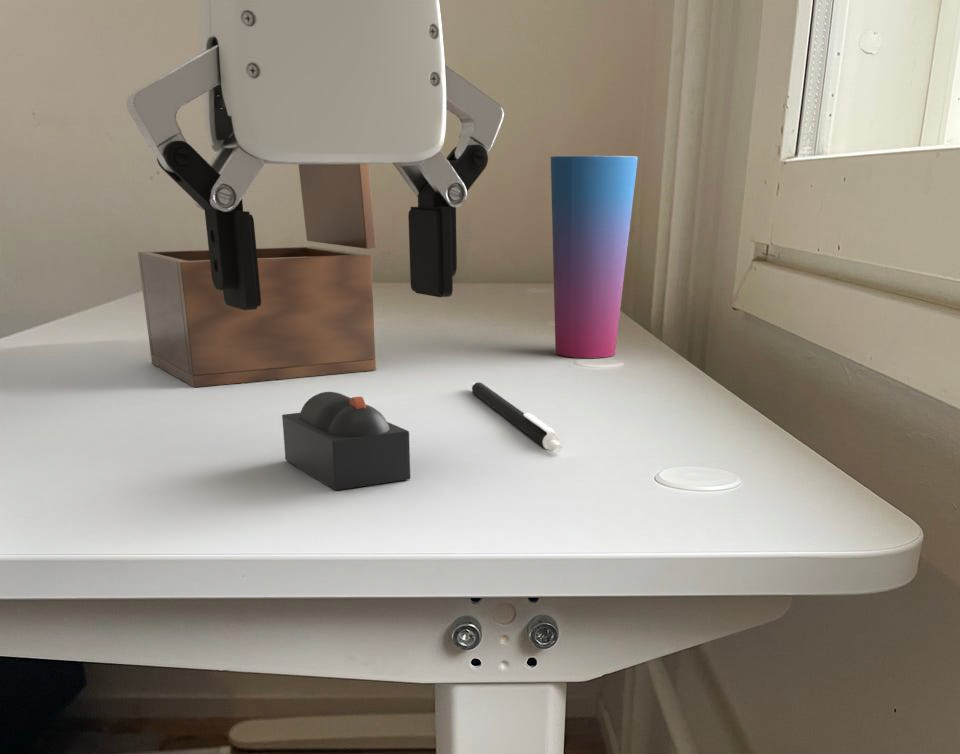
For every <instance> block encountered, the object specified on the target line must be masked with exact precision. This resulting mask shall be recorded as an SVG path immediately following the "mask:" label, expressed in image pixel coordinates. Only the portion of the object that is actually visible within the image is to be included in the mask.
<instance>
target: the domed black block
mask: <svg viewBox="0 0 960 754" xmlns="http://www.w3.org/2000/svg"><path fill="white" fill-rule="evenodd" d="M281 418H282V431H283V445H284V457H285V461H286V462H288V463H290V464H292V465H293V466H295V467H296V468H298V469H299V470H301V471H303V472H304V473H307V474H308V475H310V476H311V477H313V478H315V479H316V480H318V481H319V482H321V483H322V484H325V485H326V486H327V487H329V488H331V489H333V490H334V491H341V490H348V489H355V488H361V487H367V486H375V485H380V484H387V483H394V482H395V483H396V482H400V481H401V482H402V481H407V480H410V479H411V454H410V453H411V452H410V450H411V449H410V431H409V430H407V429H405V428H403V427H401V426H398V425H396V424H393V423H391V422H388V421H387V420H386V417H385V416H384V415H383V414H382V413H381V412H380V411H379V410H377V409H376V408H374V406H371V405H368V404H366V402H365V399H364V397H363V396H353V397H349V396H347V395H344V394H342V393H340V392H335V391H324V392H320V393H317V394H315V395H313V396H312V397H310V398H309V399H307V401H306V402H305V403H304V404H303V406H302V408H301V409H300V412H293V413H284V414H282V415H281Z"/></svg>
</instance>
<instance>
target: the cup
mask: <svg viewBox="0 0 960 754" xmlns="http://www.w3.org/2000/svg"><path fill="white" fill-rule="evenodd" d="M638 160H639V157H638V156H631V155H552V156H550V183H551V184H550V185H551V186H550V187H551V188H550V189H551V192H550V193H551V222H552V223H551V224H552V225H551V227H552V231H551V232H552V264H553V265H552V268H553V303H554V304H553V305H554V307H553V309H554V347H555V351H554V352H555V354H556V355H558V356H561V357H567V358H576V359H577V358H578V359H600V358H608V357H613V356H614V355H615V354H616V350H617V349H616V348H617V340H618V331H619V322H620V315H621V305H622V297H623V289H624V280H625V273H626V272H625V271H626V264H627V263H626V262H627V255H628V246H629V245H628V244H629V237H630V231H631V229H630V228H631V219H632V211H633V204H634V203H633V202H634V193H635V185H636V177H637V169H638V168H637V167H638Z"/></svg>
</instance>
